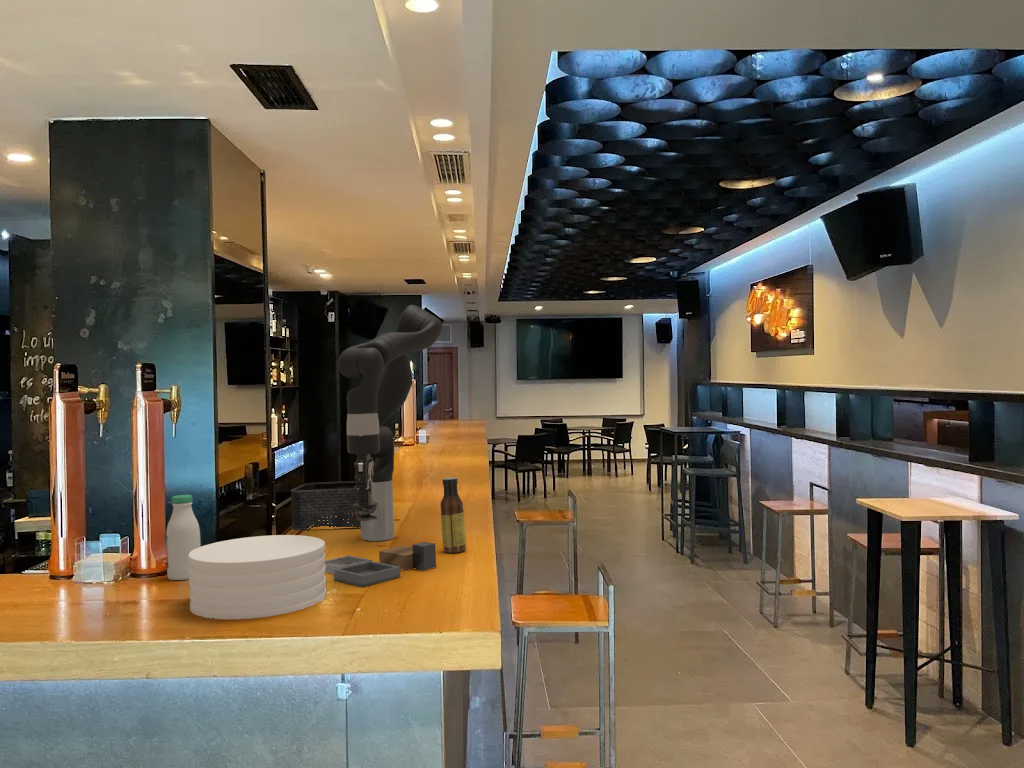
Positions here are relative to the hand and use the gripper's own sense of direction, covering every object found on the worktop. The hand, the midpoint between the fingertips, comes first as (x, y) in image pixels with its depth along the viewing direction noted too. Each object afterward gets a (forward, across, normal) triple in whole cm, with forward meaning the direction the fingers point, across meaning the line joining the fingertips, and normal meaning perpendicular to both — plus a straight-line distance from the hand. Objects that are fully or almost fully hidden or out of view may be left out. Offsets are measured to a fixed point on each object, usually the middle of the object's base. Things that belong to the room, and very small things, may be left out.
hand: (365, 503), depth 185 cm
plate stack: (+18, +14, -21) cm, 31 cm away
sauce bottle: (+18, -26, +20) cm, 38 cm away
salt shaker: (+4, 0, 0) cm, 4 cm away
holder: (+18, -11, -7) cm, 22 cm away
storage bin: (+18, -77, -18) cm, 81 cm away
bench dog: (+18, -8, +13) cm, 23 cm away
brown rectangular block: (+18, -13, +8) cm, 23 cm away
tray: (+18, 0, 0) cm, 18 cm away
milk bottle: (+18, -10, -46) cm, 50 cm away
